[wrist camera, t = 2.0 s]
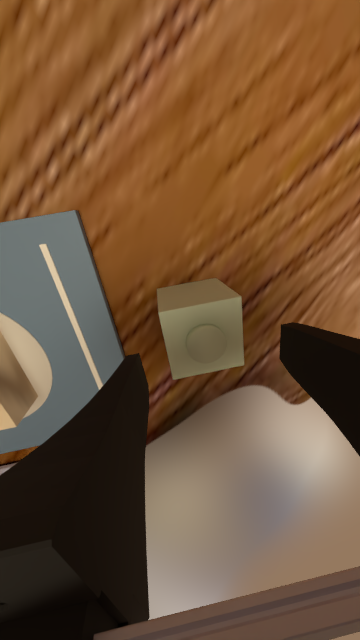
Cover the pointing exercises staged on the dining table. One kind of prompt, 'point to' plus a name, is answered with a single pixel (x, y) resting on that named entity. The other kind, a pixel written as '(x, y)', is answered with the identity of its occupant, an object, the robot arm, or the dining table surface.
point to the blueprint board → (50, 328)
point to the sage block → (201, 327)
